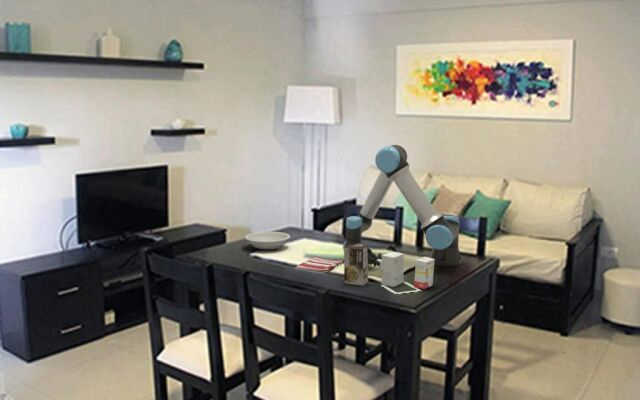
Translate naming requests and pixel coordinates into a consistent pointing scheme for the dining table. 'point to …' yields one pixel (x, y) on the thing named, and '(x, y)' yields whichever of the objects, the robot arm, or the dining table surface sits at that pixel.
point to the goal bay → (402, 292)
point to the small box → (392, 269)
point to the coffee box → (356, 264)
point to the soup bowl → (267, 239)
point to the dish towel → (318, 265)
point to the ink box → (424, 272)
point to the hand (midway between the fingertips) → (384, 265)
